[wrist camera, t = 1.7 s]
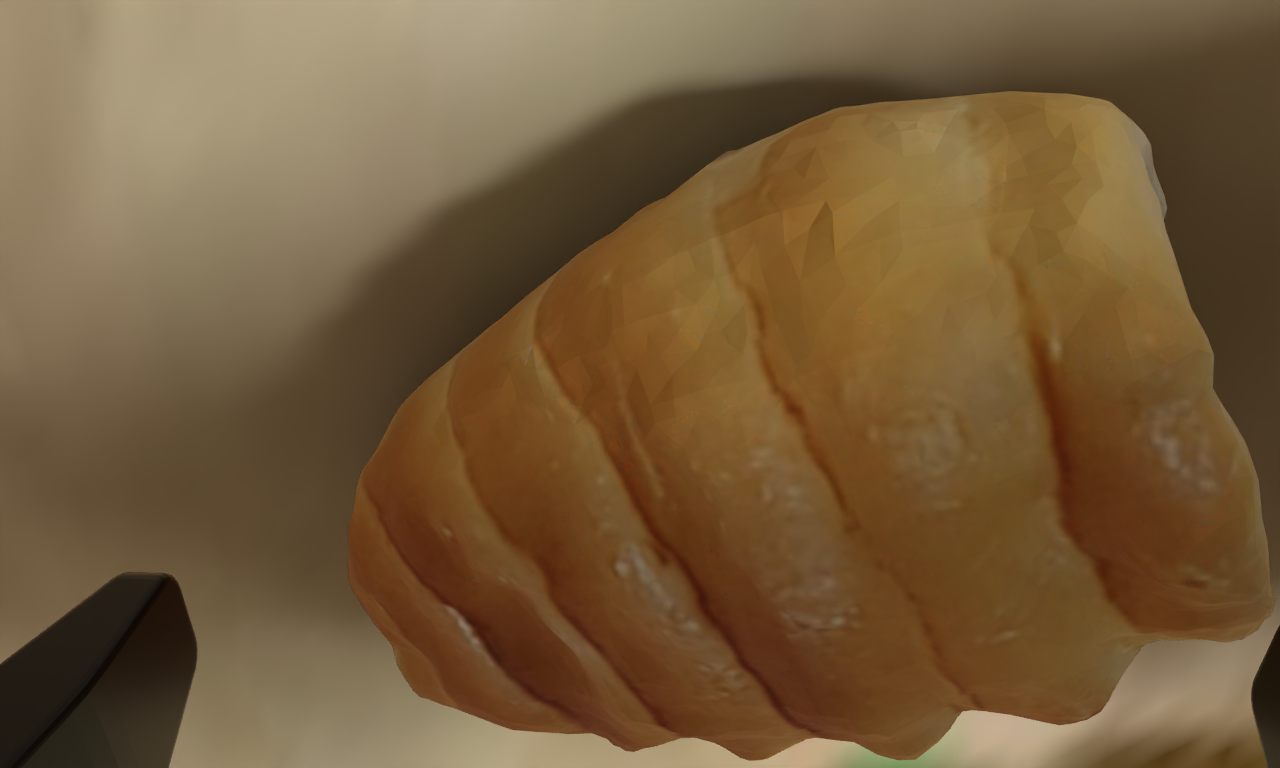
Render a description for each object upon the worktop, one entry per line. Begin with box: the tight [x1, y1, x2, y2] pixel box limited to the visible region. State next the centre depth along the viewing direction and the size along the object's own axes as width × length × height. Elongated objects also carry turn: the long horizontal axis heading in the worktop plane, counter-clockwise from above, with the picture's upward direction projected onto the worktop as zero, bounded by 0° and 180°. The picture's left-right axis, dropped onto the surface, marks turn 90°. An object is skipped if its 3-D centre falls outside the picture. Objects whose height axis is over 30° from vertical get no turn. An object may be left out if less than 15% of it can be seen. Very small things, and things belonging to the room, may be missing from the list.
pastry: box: [348, 91, 1275, 760], centre depth 12 cm, size 9×7×4 cm
